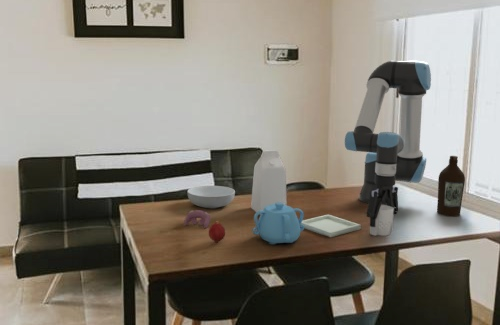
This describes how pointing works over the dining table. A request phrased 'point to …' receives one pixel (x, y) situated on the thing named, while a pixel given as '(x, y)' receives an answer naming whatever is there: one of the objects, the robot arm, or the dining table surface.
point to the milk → (268, 181)
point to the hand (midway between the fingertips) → (381, 232)
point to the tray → (330, 225)
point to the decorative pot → (278, 223)
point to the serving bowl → (211, 196)
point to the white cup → (384, 220)
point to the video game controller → (196, 214)
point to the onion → (216, 232)
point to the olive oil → (450, 189)
